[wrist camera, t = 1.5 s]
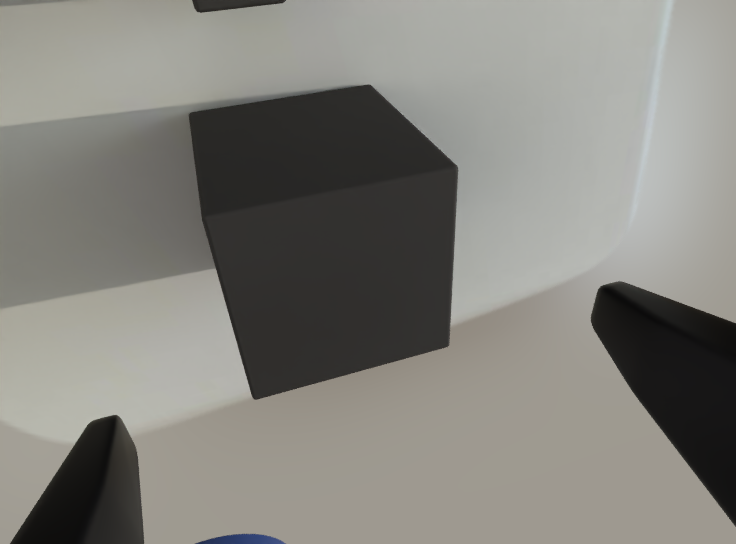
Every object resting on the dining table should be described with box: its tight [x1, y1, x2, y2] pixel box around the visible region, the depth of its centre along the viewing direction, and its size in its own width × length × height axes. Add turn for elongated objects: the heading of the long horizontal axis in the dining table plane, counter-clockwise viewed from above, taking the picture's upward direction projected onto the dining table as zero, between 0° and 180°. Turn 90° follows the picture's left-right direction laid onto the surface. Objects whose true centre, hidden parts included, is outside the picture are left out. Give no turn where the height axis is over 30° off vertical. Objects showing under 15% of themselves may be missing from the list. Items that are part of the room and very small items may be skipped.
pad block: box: [189, 85, 458, 400], centre depth 13 cm, size 5×5×6 cm
